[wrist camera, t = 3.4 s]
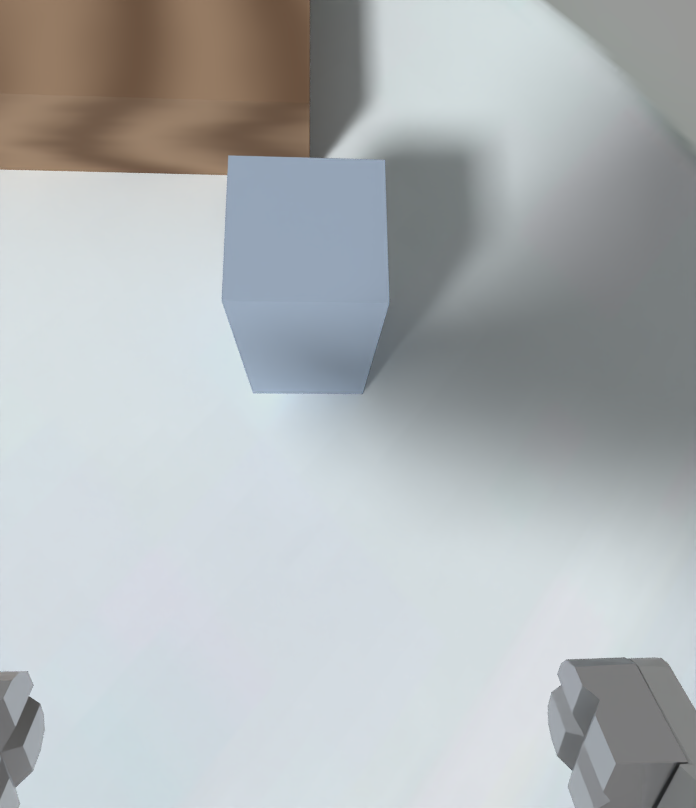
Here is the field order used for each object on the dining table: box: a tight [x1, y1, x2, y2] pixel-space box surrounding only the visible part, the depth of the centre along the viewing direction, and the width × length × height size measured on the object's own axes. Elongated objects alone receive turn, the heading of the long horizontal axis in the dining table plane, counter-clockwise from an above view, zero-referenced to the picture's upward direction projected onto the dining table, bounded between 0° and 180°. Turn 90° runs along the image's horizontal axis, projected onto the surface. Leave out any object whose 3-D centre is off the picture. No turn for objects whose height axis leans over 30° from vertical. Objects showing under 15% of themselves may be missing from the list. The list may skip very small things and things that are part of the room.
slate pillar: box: [222, 155, 389, 394], centre depth 21 cm, size 4×4×9 cm
